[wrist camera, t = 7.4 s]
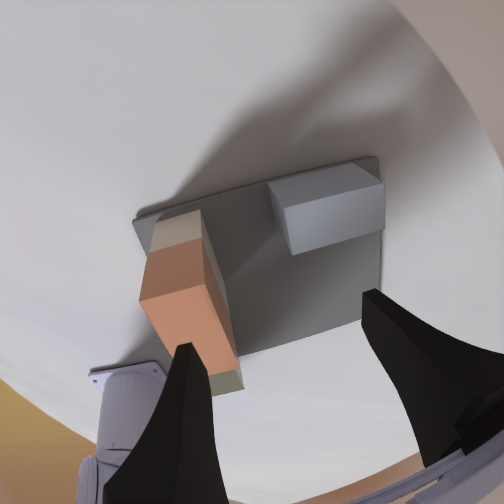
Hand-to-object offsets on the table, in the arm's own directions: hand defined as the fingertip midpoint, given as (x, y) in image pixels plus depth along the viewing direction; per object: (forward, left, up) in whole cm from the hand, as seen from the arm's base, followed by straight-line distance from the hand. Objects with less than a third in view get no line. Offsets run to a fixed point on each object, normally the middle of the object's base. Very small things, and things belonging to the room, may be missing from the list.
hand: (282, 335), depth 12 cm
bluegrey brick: (+1, -5, -10) cm, 11 cm away
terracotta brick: (-1, +4, -6) cm, 7 cm away
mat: (-5, -1, -10) cm, 12 cm away
